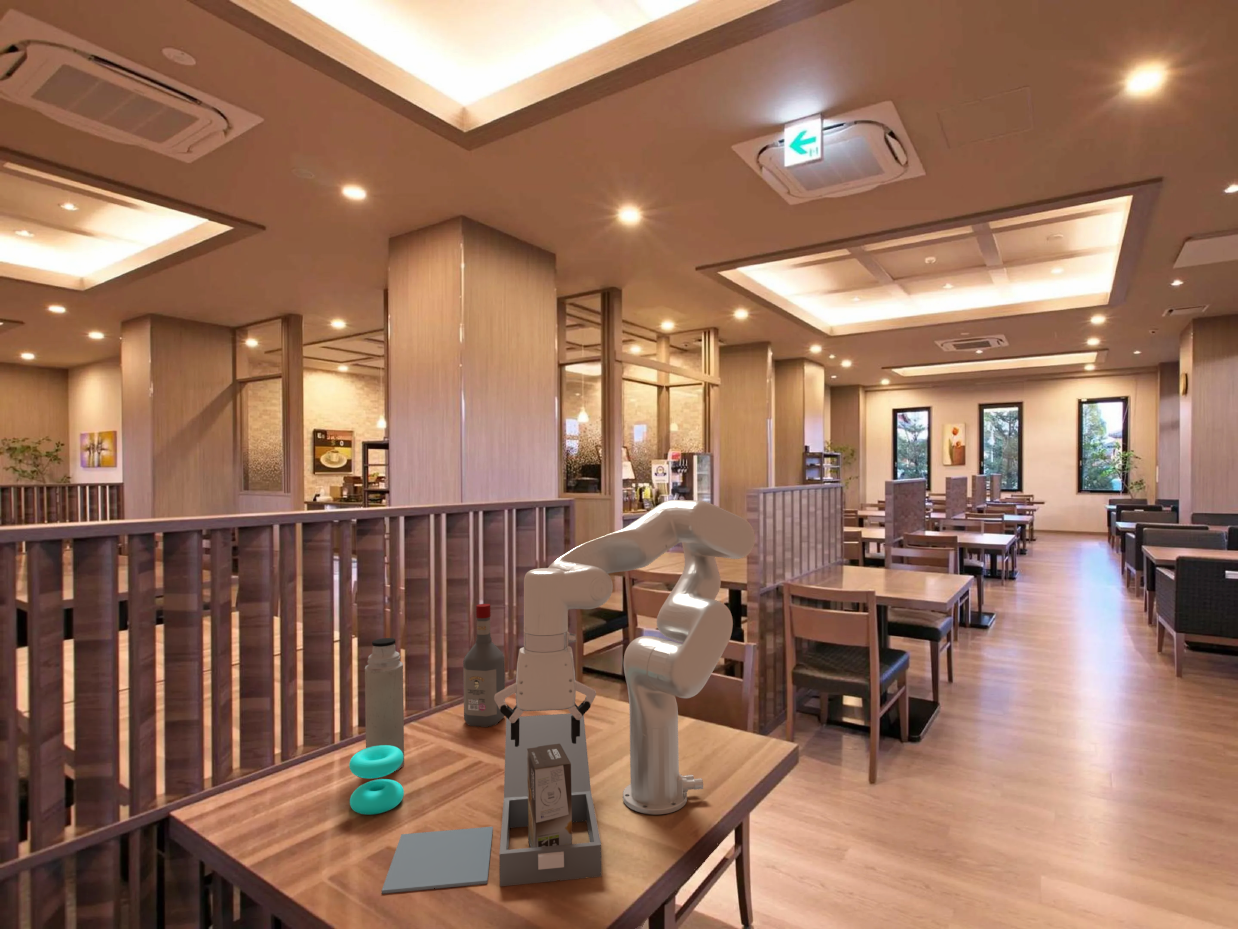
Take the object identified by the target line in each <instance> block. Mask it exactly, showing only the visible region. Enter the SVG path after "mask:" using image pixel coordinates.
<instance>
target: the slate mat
mask: <svg viewBox="0 0 1238 929" xmlns="http://www.w3.org/2000/svg"><path fill="white" fill-rule="evenodd" d="M493 831H494V826H485V827H484V826H483V827H470V828H462V829H461V828H460V829H450V830H449V829H448V830H436V831H426V832H415V833H414V832H413V833H402V834H401V835H400V838H399V841H398V843H397V846H396V849H395V852H394V854H393V857H392V859H391V863H390V866H389V869H388V871H387V874H386V877H385V880H384V882H383V886H382V889H381V894H394V893H403V892H413V891H414V892H415V891H424V890H435V889H445V888H454V887H465V886H467V887H468V886H476V885H477V886H478V885H486V884H488V881H489V870H490V863H491V862H490V859H491V851H492V842H493ZM434 888H435V889H434Z"/></svg>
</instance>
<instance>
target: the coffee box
mask: <svg viewBox="0 0 1238 929" xmlns="http://www.w3.org/2000/svg"><path fill="white" fill-rule="evenodd" d="M527 788H528V826H527V829H528V830H527V832H528V835H527V836H528V843H529V848H534V847H545V846H556V845H567V844H573V822H572V795H571V763H570V761H569V759H568V757H567V755H566V754H565V752H564V750H563V748H562V746H561V744H552V745H544V746H538V747H536V748H528V749H527Z"/></svg>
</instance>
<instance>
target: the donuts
mask: <svg viewBox="0 0 1238 929" xmlns="http://www.w3.org/2000/svg"><path fill="white" fill-rule="evenodd" d="M402 762H403V753H402V751H401V750H400V749H399V748H397V747H395V746H390V745H379V746H373V747H369V748H366V747H365V748H363V749H361V750H359V751H358V752H356V753H355V754H354V755H353V756H351V759H350V760H349V763H348V764H349V766H348V767H349V770H350V772H351V773H352V774H353V775H354V776H356V777H358V778H362V779H367V780H370V779H374V780H370V781H367V782H364V783H362V784H360V785H359V786H358V787H357V788H356V789H355V790H353V792H352V793H351V795H350V798H349V806H350V807H351V809H352V811H353V812H355V813H357V814H360V815H366V816H368V815H370V816H371V815H378V814H382V813H385V812H389V811H390V810H392V809H394V808H396V807H397V806H398V805H399V804H401V802H402V801H403V798H404V795H405V791H404V787H403V785H402V784H401V783H400V782H398V781H397V780H394V779H388V778H383V777H387V776H388V775H392V773H395V772H397V771H398V770H397V769H398V768H399V767H400V766H401V764H402ZM396 770H397V771H396ZM394 771H395V772H394ZM378 778H379V779H378Z"/></svg>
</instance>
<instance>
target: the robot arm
mask: <svg viewBox="0 0 1238 929" xmlns="http://www.w3.org/2000/svg"><path fill="white" fill-rule="evenodd" d="M680 543H681V545H682V549H683V556H684V566H683V570H682V574H681V575H680V577H679V579H678V581H677V582H676V584H675V585H674V587H673V588H672V590H671V592H670V593H669V595H668V596H667V598H666V599H665V601H664V603H663V604H662V606H661V607H660V609H659V612H658V615H657V616H656V627H657V629H658V631H659V632H660V634H662V635H663V636H664V637H665V638H661V637H657V636H653V635H643V636H639V637H636V638H634V639H633V640H632V641H630V643H629V644H628V646H627V647H626V649H625V651H624V654H623V655H624V656H623V672H624V676H625V681H626V685H627V693H628V704H629V705H628V706H629V761H630V762H629V763H630V764H629V765H630V767H629V769H630V773H629V774H630V783H629V784H628V785H626V787H625V788H623V792H622V800H623V803H624V804H625V806H626V807H628V809H629V808H630V809H631V811H635V812H638V813H641V814H645V815H654V816H655V815H665V814H672V813H674V812H676V811H679V810H680V809H682V808H683V807H685V805H686V804H687V802H688V801H687V800H688V791H689V790H694V791H698V790H704V781H703V778H695V776H694V774H686V775H682V774H681V773H680V766H679V764H680V763H679V761H680V760H679V758H680V757H679V754H680V753H679V712H678V709H679V708H678V703H677V699H676V697H677V698H681V699H690V698H693V697H695V696H696V695H698V694H699V693H700V692H701V691H702V690H703V688H704V687H705V685H706V684H707V683H708V681H709V679H710V676H712V673H713V671H714V670H715V668H716V666H717V664H718V663H719V661H720V659H721V657H722V656H723V653H724V651H725V650H726V649H727V646H728V644H729V642H730V641H731V636H732V633H733V625H734V623H733V616H732V613H731V610H730V609H729V607H728V606H727V605H726V604H724V603H723V602H721V601H719V600H716V598H717V596H718V595H719V592H720V588H721V583H722V580H721V575H720V571H719V569H718V568H719V567H718V564H717V561H716V558H723V559H730V560H731V559H733V560H740V559H743V558H745V557H747V556H749V555H750V554H751V553H752V551H753V549H754V546H755V543H756V536H755V530H754V528H753V526H752V525H751V523H750V522H749V521H748V520H746V518H744V517H742V516H740V515H738V514H736V513H733V512H731V511H729V510H727V509H724V508H722V507H720V506H717V505H715V504H714V503H710V502H707V501H705V500H690V499H687V500H686V499H670V500H665V501H663V502H661V503H659V504H658V505H656V506H655V507H654V508H652V509H651V510H648V512H646V513H645V514H643V515H642V516H640V517H639V518H638V519H635V520H634V521H632V522H631V523H629V524H628V525H627V526H625V527H623V528H622V529H619V530H616V531H614V532H611V533H607V534H606V535H603V536H600V537H597V538H594V539H592V540H589V541H586V542H584V543H582V544H579V545H578V546H576V547H574V548H572V549H571V550H569V551H567V552H565V553H564V554H563V555H561V556H560V557H558V558H556V560H554V561H552V562H551V564H549V566H548V567H543V568H535V569H531V570H528V571H527V572H526V573H525V575H524V578H523V647H521V648H519V651H518V656H517V663H516V672H515V673H516V674H515V675H516V677H515V682H514V683H512V684H511V685H509V686H507V687H505V689H503V690H501V691H500V692H498V693H496V694H495V697H494V700H495V702H496V703H497V705H498V707H499V709H500V712H501V713H502V714H503V715H504V718H505V719H506V718H508V719H509V721H510V722H511V740H515V747H518V746H519V717H521V715H522V714H523V713H524V712H543V711H546V712H547V711H561V710H567V711H569V713H571V714H572V716H571V740H572V743H573V744H576V737H579V736H580V719H581V718H582V716H583V715H584V716H585V714H586V713H587V711H589V710H590V708H591V706H592V704H593V702H594V700H595V698H596V696H597V691H596V689H594V688H592V687H590V686H588V685H586V684H584V683H582V682H580V681H578V680H576V672H575V662H574V653H573V649H572V648H573V647H571V646H570V644H571V643H575V642H577V633H572V632H570V631H569V629H568V628H569V617H568V616H569V610H572V609H573V610H575V609H576V610H592V609H596V608H599V607H602V606H603V605H605V604H606V603H607V602H608V601H609V600H610V598H611V596H612V593H613V590H614V588H613V587H614V586H613V581H612V577H611V576H610V575H609V574H613V573H619V572H629V571H634V570H638V569H642V568H646V567H648V566H649V565H651V563H653V562H654V561H656V560H657V559H659V558H660V557H661V556H663V555H664V554H665V553H666V552H668V551H669V550H671V549H672V548H673V547H675V546H676V545H678V544H680ZM666 638H667V639H666ZM576 692H578V693H581V694H582V695H585V698H584V700H582V702H581V703H580V704H579V705H578V704H577V703H576ZM512 695H515V706H514V707H513V708H512V707H511V706H510V705H508V704H507V702H506V699H507V698H509V697H511V696H512ZM504 699H505V700H504Z"/></svg>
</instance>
